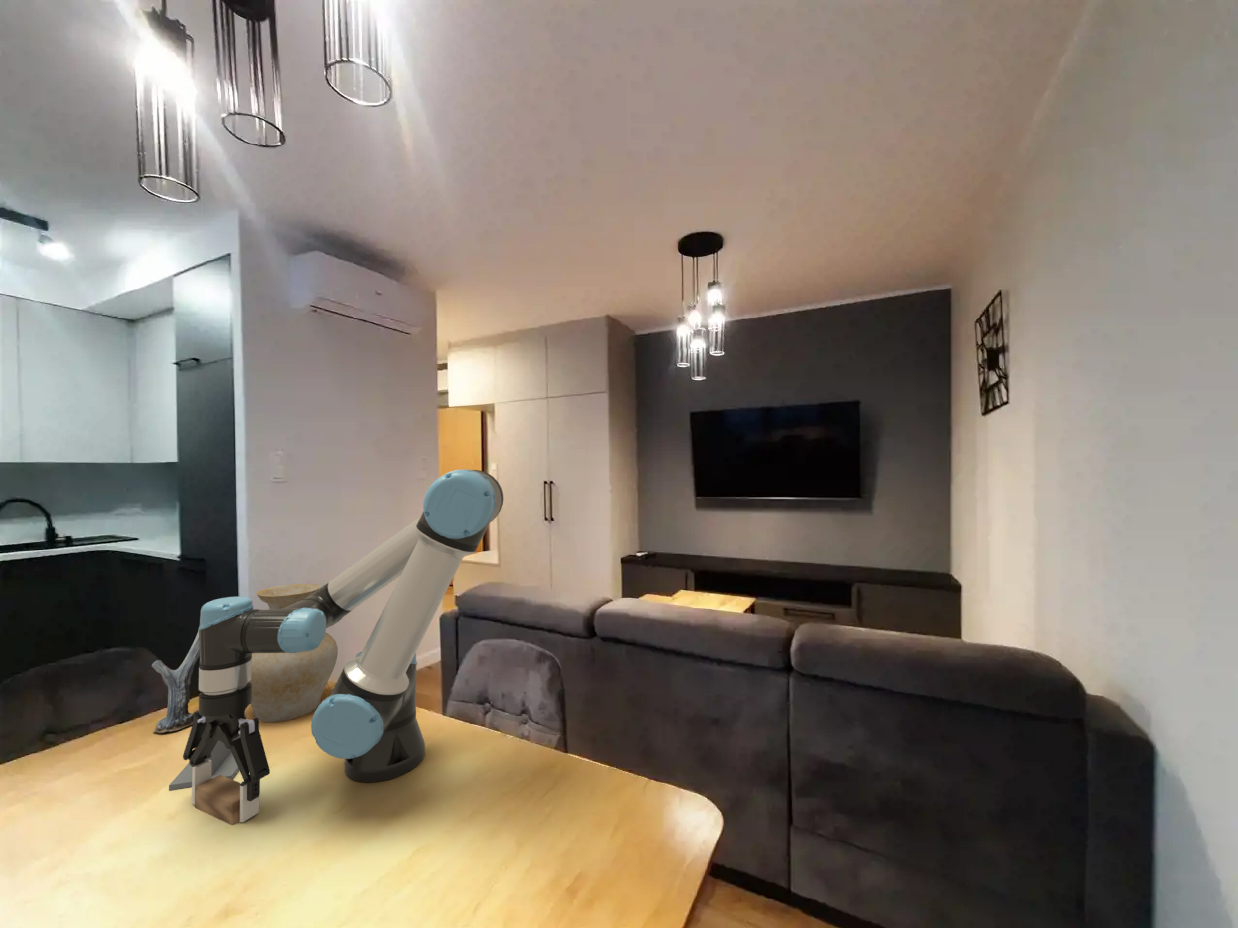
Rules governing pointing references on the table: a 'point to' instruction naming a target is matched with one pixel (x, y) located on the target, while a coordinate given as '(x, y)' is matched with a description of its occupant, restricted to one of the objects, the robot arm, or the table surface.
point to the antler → (178, 691)
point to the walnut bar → (219, 799)
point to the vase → (290, 667)
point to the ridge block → (220, 765)
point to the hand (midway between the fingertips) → (224, 808)
